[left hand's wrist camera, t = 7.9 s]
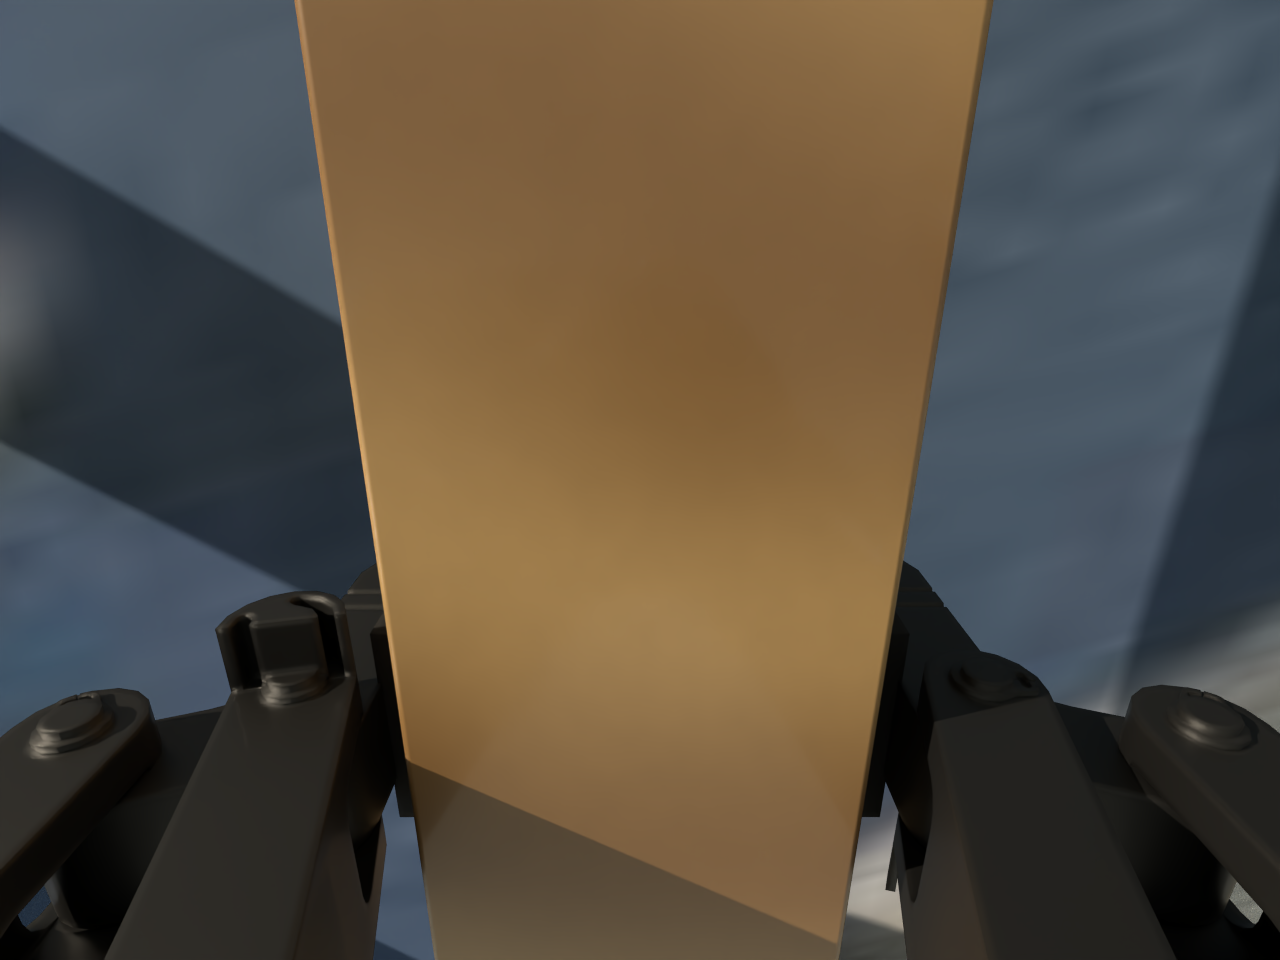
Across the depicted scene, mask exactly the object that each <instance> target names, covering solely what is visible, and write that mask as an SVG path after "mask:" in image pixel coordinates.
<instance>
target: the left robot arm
mask: <svg viewBox="0 0 1280 960" xmlns="http://www.w3.org/2000/svg"><path fill="white" fill-rule="evenodd" d="M215 631H216V634H217V638H218V642H219V646H220V650H221V654H222V658H223V662H224V665H225V669H226V673H227V677H228V681H229V685H230V689H231V694H230V696H229V698H228V701H227V703H226V705H224V706H220V707H217V708H213V709H209V710H204V711H199V712H194V713H189V714H184V715H179V716H174V717H169V718H164V719H159V720H155V718H154V715H153V712H152V709H151V705H150V702H149V699H147V698H146V697H145V696H144V695H142V694H141V693H140V692H139V691H134V690H128V689H121V688H116V689H106V690H97V691H90V692H85V693H80V695H74V696H71V697H68V698H64V699H62V700H60V701H58V702H57V703H55V704H53V705H51V706H48V707H46V708H44V709H42V710H40V711H37V712H35V713H34V714H32V715H31V716H29V717H28V718H26V719H25V720H23V721H22V722H20V723H19V724H17V725H16V726H14V727H13V728H11V729H10V730H9V731H8V732H7V733H5V734H4V735H3V736H2V737H1V738H0V960H373V954H374V946H375V937H376V929H377V921H378V912H379V904H380V895H381V887H382V879H383V870H384V862H385V853H386V845H387V844H386V837H385V830H384V824H383V819H382V812H383V810H384V807H385V805H386V803H387V800H388V798H389V796H390V793H391V791H392V789H393V786H394V784H395V790H396V797H397V803H398V809H399V815H400V817H414V813H413V806H412V799H411V792H410V785H409V779H408V772H407V765H406V758H405V751H404V744H403V738H402V731H401V724H400V717H399V710H398V703H397V697H396V690H395V683H394V676H393V669H392V662H391V656H390V649H389V642H388V635H387V628H386V621H385V615H384V608H383V601H382V594H381V587H380V580H379V574H378V567H377V563H376V564H374V565H373V566H371V567H370V568H368V569H367V570H365V571H363V572H362V573H361V574H360V575H359V577H358V578H357V579H356V581H355V582H354V583H353V585H352V586H351V587H350V589H349V590H348V594H345V595H344V596H343V598H342V599H341V600H340V599H339V598H337V597H336V596H335V595H332V594H328V593H323V592H319V591H295V592H289V593H284V594H279V595H274V596H269V597H267V598H264V599H261V600H258V601H256V602H253V603H250V604H247V605H246V606H244V607H242V608H240V609H239V610H237V611H235V612H234V613H232V614H230V615H229V616H227V617H226V618H225V619H224V620H223V621H222V623H221V624H220V625H219V626H218V627H217V628H216V629H215ZM885 782H886V784H887V786H888V788H889V791H890V793H891V795H892V798H893V800H894V802H895V805H896V807H897V809H898V812H899V813H898V819H897V824H896V830H895V836H894V841H893V847H892V853H891V858H890V864H889V870H888V875H887V882H886V889H885V890H889V891H894V892H895V889H896V883H897V878H898V885H899V894H900V902H901V910H902V919H903V927H904V936H905V944H906V952H907V960H1280V733H1278V732H1277V731H1276V730H1275V729H1274V728H1272V727H1271V726H1270V725H1269V724H1267V723H1266V722H1264V721H1262V720H1261V719H1259V718H1258V717H1256V716H1255V715H1253V714H1252V713H1250V712H1249V711H1247V710H1246V709H1244V708H1242V707H1240V706H1238V705H1235V704H1233V703H1231V702H1229V701H1226V700H1224V699H1223V698H1221V697H1219V696H1217V695H1214V694H1211V693H1208V692H1205V691H1204V692H1201V691H1200V690H1197V689H1192V688H1188V687H1177V686H1168V685H1157V686H1151V687H1144V688H1141V689H1140V690H1139V691H1138V692H1136V693H1135V694H1134V695H1133V696H1132V697H1131V700H1130V704H1129V707H1128V710H1127V713H1126V716H1125V717H1121V716H1116V715H1111V714H1106V713H1101V712H1096V711H1091V710H1087V709H1082V708H1077V707H1072V706H1068V705H1064V704H1060V703H1056V702H1054V701H1053V699H1052V697H1051V695H1050V693H1049V691H1048V690H1047V689H1046V687H1045V686H1044V685H1043V684H1042V682H1041V681H1040V680H1039V678H1038V677H1037V676H1035V675H1034V674H1032V673H1031V672H1029V671H1028V670H1027V669H1025V668H1024V667H1022V666H1021V665H1019V664H1017V663H1015V662H1012V661H1010V660H1008V659H1005V658H1003V657H1001V656H998V655H995V654H991V653H986V652H982V651H980V650H979V649H978V648H977V646H976V645H975V644H974V642H973V641H972V640H971V638H970V637H969V636H968V634H967V633H966V632H965V631H964V629H963V628H962V627H961V625H960V624H959V623H958V621H957V620H956V619H955V617H954V616H953V615H952V614H951V612H950V611H949V610H948V608H947V607H944V603H943V602H942V600H941V599H940V598H939V597H938V595H937V594H936V593H935V592H932V587H931V586H930V585H929V583H928V582H927V581H926V580H925V578H924V577H923V576H922V574H921V573H920V572H919V570H917V569H916V568H914V567H912V566H911V565H909V564H908V563H906V562H905V561H903V564H902V570H901V577H900V583H899V589H898V595H897V601H896V608H895V614H894V620H893V626H892V632H891V639H890V645H889V651H888V657H887V663H886V670H885V676H884V682H883V688H882V694H881V701H880V707H879V713H878V719H877V725H876V732H875V738H874V744H873V750H872V756H871V763H870V769H869V775H868V781H867V787H866V794H865V800H864V806H863V812H862V817H880V812H881V806H882V800H883V794H884V788H885ZM1236 882H1238V883H1239V884H1240V885H1241V887H1242V888H1243V889H1244V890H1245V891H1246V892H1247V893H1248V894H1249V896H1250V897H1251V898H1252V899H1253V900H1254V901H1255V902H1256V903H1257V904H1258V906H1259V907H1260V908H1261V909H1262V910H1263V913H1262V915H1261V917H1260V919H1259V921H1258V922H1257V923H1256V924H1253V923H1252V922H1251V921H1250V920H1249V919H1247V918H1246V917H1245V916H1244V915H1243V914H1242V913H1241V912H1240V911H1239V910H1238V908H1237V907H1236V906H1235V905H1234V904H1233V903H1232V901H1231V900H1230V899H1229V898H1230V896H1231V894H1232V891H1233V889H1234V887H1235V884H1236ZM43 886H45V888H46V890H47V893H48V895H49V898H50V900H51V903H50V904H49V905H48V906H47V907H46V909H45V910H44V911H43V912H42V913H41V914H40V916H39V917H37V918H36V919H35V920H34V921H33V922H32V923H30V924H29V925H28V926H27V927H25V926H24V925H22V923H21V921H20V918H19V916H18V914H19V913H20V912H21V911H22V909H23V908H24V907H25V906H26V905H27V904H28V903H29V902H30V900H31V899H32V898H33V897H34V896H35V895H36V894H37V892H38V891H39V890H40V889H41V888H42V887H43Z"/></svg>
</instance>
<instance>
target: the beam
mask: <svg viewBox="0 0 1280 960" xmlns="http://www.w3.org/2000/svg"><path fill="white" fill-rule="evenodd" d="M992 6H993V0H295V7H296V13H297V20H298V27H299V34H300V41H301V48H302V54H303V61H304V68H305V75H306V82H307V89H308V95H309V102H310V109H311V116H312V123H313V130H314V136H315V143H316V150H317V157H318V164H319V170H320V177H321V184H322V191H323V198H324V205H325V211H326V218H327V225H328V232H329V239H330V246H331V252H332V259H333V266H334V273H335V280H336V287H337V293H338V300H339V307H340V314H341V321H342V328H343V334H344V341H345V348H346V355H347V362H348V369H349V375H350V382H351V389H352V396H353V403H354V410H355V416H356V423H357V430H358V437H359V444H360V451H361V457H362V464H363V471H364V478H365V485H366V492H367V498H368V505H369V512H370V519H371V526H372V533H373V539H374V546H375V553H376V560H377V567H378V574H379V580H380V587H381V594H382V601H383V608H384V615H385V621H386V628H387V635H388V642H389V649H390V656H391V662H392V669H393V676H394V683H395V690H396V697H397V703H398V710H399V717H400V724H401V731H402V738H403V744H404V751H405V758H406V765H407V772H408V779H409V785H410V792H411V799H412V806H413V813H414V820H415V826H416V833H417V840H418V847H419V854H420V861H421V867H422V874H423V881H424V888H425V895H426V902H427V908H428V915H429V922H430V929H431V936H432V943H433V949H434V956H435V960H839V955H840V949H841V942H842V936H843V930H844V924H845V918H846V911H847V905H848V899H849V893H850V887H851V880H852V874H853V868H854V862H855V856H856V849H857V843H858V837H859V831H860V825H861V818H862V812H863V806H864V800H865V794H866V787H867V781H868V775H869V769H870V763H871V756H872V750H873V744H874V738H875V732H876V725H877V719H878V713H879V707H880V701H881V694H882V688H883V682H884V676H885V670H886V663H887V657H888V651H889V645H890V639H891V632H892V626H893V620H894V614H895V608H896V601H897V595H898V589H899V583H900V577H901V570H902V564H903V558H904V552H905V546H906V539H907V533H908V527H909V521H910V515H911V508H912V502H913V496H914V490H915V484H916V477H917V471H918V465H919V459H920V453H921V446H922V440H923V434H924V428H925V421H926V415H927V409H928V403H929V397H930V390H931V384H932V378H933V372H934V366H935V359H936V353H937V347H938V341H939V335H940V328H941V322H942V316H943V310H944V304H945V297H946V291H947V285H948V279H949V273H950V266H951V260H952V254H953V248H954V242H955V235H956V229H957V223H958V217H959V211H960V204H961V198H962V192H963V186H964V180H965V173H966V167H967V161H968V155H969V149H970V142H971V136H972V130H973V124H974V118H975V111H976V105H977V99H978V93H979V87H980V80H981V74H982V68H983V62H984V56H985V49H986V43H987V37H988V31H989V25H990V18H991V12H992Z"/></svg>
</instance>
